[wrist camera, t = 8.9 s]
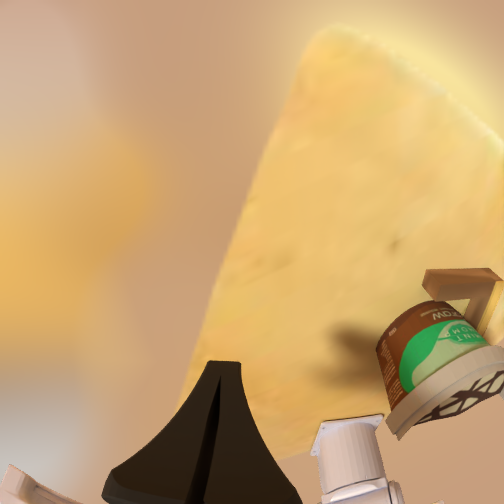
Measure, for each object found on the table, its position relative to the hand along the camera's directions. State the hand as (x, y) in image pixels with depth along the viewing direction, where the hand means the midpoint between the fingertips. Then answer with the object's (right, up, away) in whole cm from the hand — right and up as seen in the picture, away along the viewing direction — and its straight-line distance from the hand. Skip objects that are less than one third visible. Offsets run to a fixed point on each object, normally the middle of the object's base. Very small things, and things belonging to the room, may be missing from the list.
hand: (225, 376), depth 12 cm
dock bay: (+20, -2, +11) cm, 23 cm away
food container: (+17, -1, +11) cm, 20 cm away
